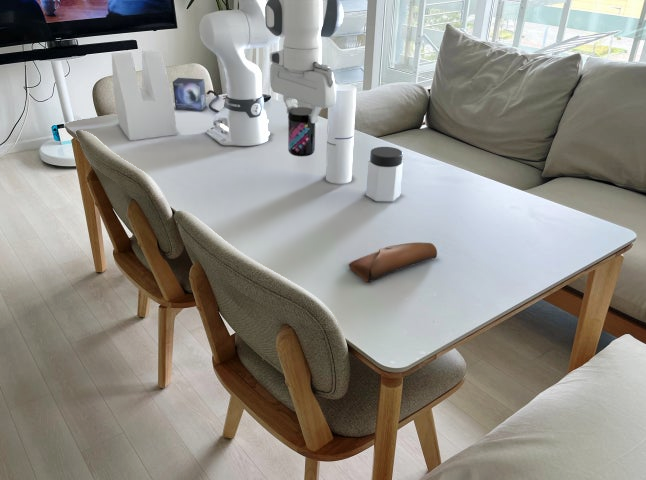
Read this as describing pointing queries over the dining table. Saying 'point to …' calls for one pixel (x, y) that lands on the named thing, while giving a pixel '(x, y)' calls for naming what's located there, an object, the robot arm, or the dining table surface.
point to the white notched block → (143, 96)
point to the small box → (189, 94)
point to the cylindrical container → (341, 135)
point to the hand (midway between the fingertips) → (301, 118)
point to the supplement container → (300, 132)
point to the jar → (384, 174)
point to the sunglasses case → (392, 259)
